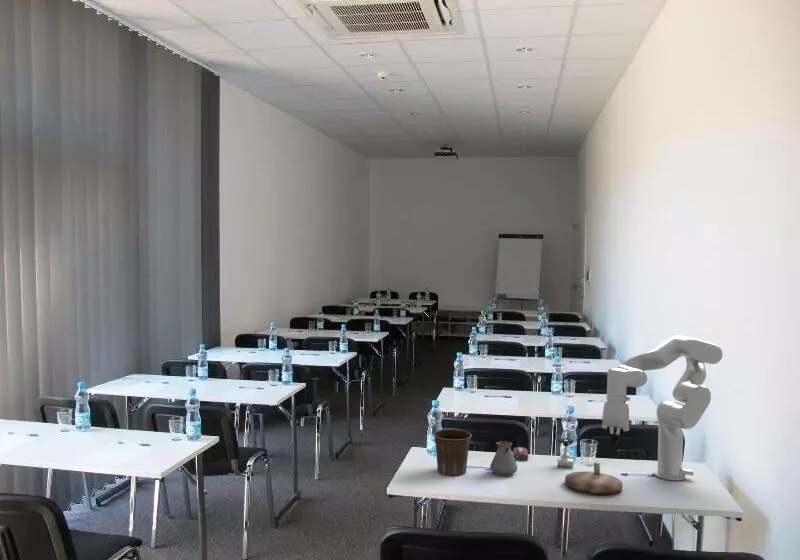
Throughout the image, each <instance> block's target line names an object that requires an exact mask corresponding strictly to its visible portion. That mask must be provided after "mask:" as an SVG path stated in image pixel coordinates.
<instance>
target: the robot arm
mask: <svg viewBox="0 0 800 560" xmlns="http://www.w3.org/2000/svg"><path fill="white" fill-rule="evenodd" d="M681 357H682V358H683V357H684V358H685V361H686V362H685V363H686V366H685V370H684V372H683V373H682V375H681V377H680V379H679V380H678V382H677V383H676V384H675V386H674V388H673V390H672V397H673V399H674V400H675V401H671V400H665V401H662V402H660V403H659V404H658V405H657V408H656V419H657V424H658V425H657V426H658V436H657V437H658V439H657V440H658V444H657V468H656V469H654V470H653V475H654V476H655V477H656V478H658V479H663V480H667V481H683V480H685V479H686V477H687V475H688V476H693V477H694V470H692V469H687V468H685V467H684V465H683V446H684V445H683V443H684V441H683V440H684V436H683V430H691V429H693V428H694V427H695V426H696V425H697V424H698V423H699V421H700V420H701V419H702V416H703V415H704V413H705V412H706V410H707V408H708V406H709V405H710V403H711V399H712V393H711V391H710V389H709V387H707V386H706V385H703V384H704V382H705V381H706V378H707V368H706V365H705V364H708V365H715V364H716V365H717V364H718V363H720V361H721V360H722V359H723V350H722V348H721V347H720V346H719V345H717V344H716V343H712V342H709V341H705V340H701V339H698V338H695V337H691V336H684V335H674V336H672V337H670V338H668V339H667V340H665V341H663V342H662V343H661V344H659V345H658V346H657V347H655V348H653V349H652V350H650V351H647V352H643V353H641V354H638V355H635V356H632V357H631V358H629V359H627V360H625V361H623V362H622V363H620V364H619V365H618V366H617V367H616V368H614V367H612V368H609V369H608V370H607V377H606V381H607V383H606V385H607V386H606V400H605V401H604V403H603V404H604V405H603V409H602V410H603V411H602V418H601V419H602V420H601V421H602V423H601V428H602V429H606V430H607V431H608V432H609V434H610V442H611V443H612V444H611V445H618V443H619V442H620V434H622V433H623V432H628V431H630V426H629V425H630V408H629V403H628V402H630V400H631V397H628V396H627V388H628V387H632V388H641V387H644V386H645V385H646V383H647V382H648V375H647V374H646V371H655V370H661V369H665V368H667V366H669V365H670V364H672V363H673V362H675V361H677V360H678V359H679V358H681ZM676 401H677V402H676ZM679 402H680V403H679ZM615 428H616V432H615ZM682 429H683V430H682Z"/></svg>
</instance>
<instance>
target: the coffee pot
mask: <svg viewBox="0 0 800 560" xmlns="http://www.w3.org/2000/svg"><path fill="white" fill-rule="evenodd" d="M495 444H496V446H497V449H496V452H495V454H494V456H493V459H492V461H491V463H490V469H491V471H492V472H493V473H494V474H495V475H497V476H501V477H511V476H513V475H514V474H515V473H516V472H518V471H517V470H518V464H517V462H516V461H517V460H515V459H514V456H513V454H512V452H513V450H512V449H511V447H512V445H513V443H512V442H510V441H504V440H503V441H497V442H496V443H495Z"/></svg>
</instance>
